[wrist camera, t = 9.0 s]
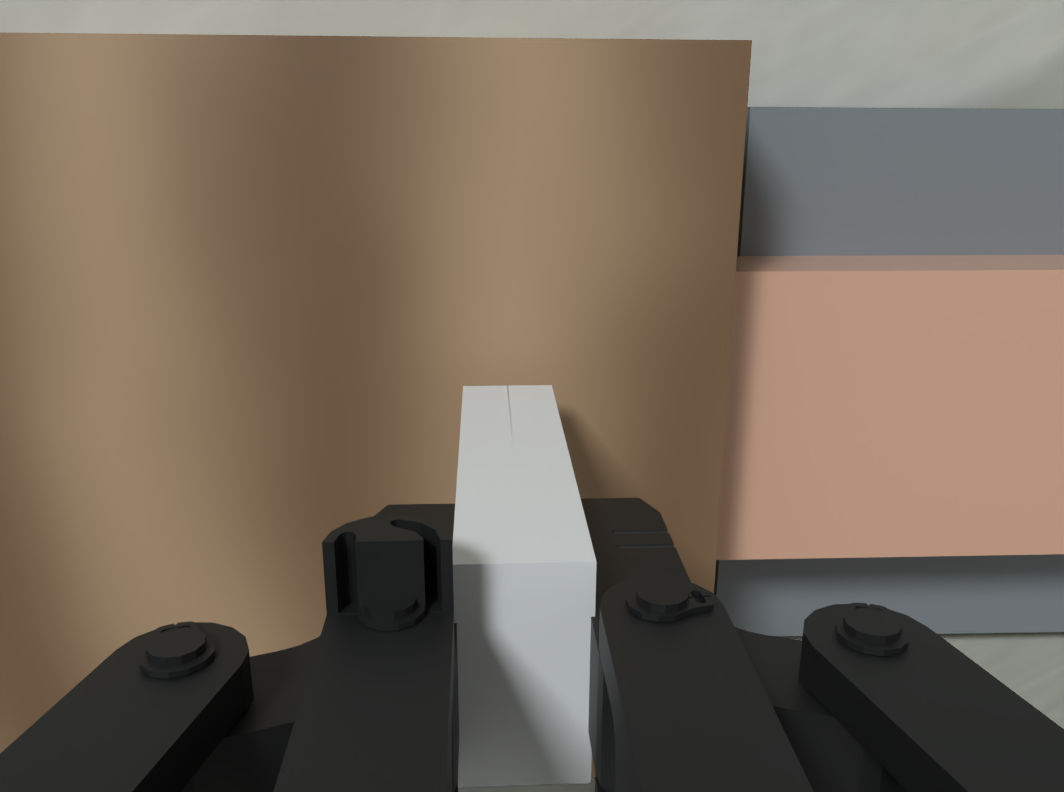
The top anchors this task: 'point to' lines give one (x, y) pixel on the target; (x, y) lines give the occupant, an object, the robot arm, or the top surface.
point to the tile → (894, 407)
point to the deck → (335, 307)
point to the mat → (901, 229)
